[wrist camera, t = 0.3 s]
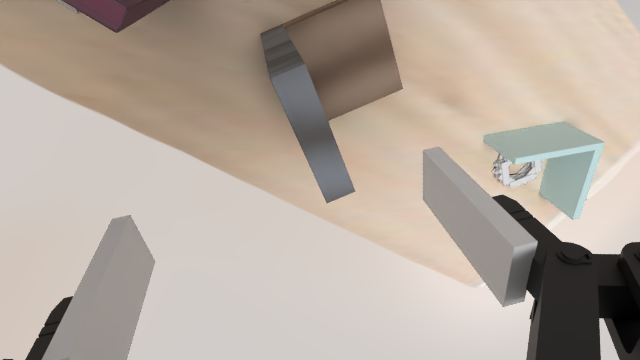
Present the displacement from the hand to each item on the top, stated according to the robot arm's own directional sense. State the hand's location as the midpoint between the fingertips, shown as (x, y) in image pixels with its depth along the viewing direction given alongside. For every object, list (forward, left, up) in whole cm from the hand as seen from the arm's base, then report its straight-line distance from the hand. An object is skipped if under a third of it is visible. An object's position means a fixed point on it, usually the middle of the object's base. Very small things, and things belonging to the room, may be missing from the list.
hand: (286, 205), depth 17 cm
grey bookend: (+3, +9, -29) cm, 30 cm away
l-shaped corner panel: (+28, +28, -29) cm, 49 cm away
